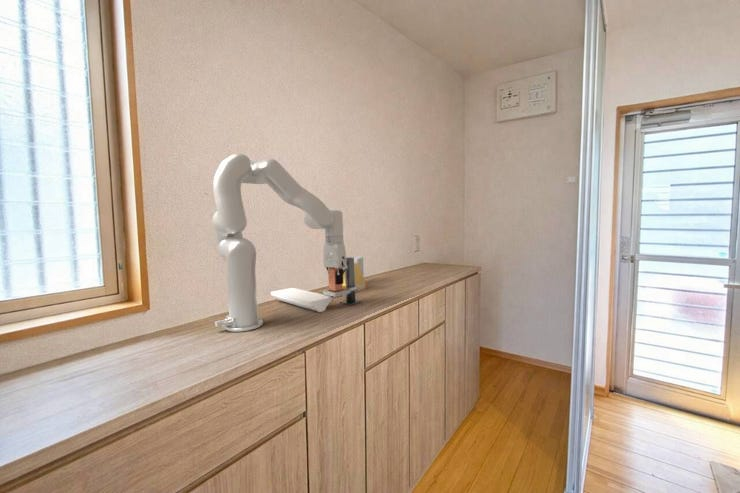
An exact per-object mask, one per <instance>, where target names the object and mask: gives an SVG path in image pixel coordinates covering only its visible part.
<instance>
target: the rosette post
mask: <svg viewBox="0 0 740 493" xmlns="http://www.w3.org/2000/svg"><path fill="white" fill-rule="evenodd" d="M353 257H354V256H351V257H346V265H347V267H348V268H347V269H346V270H345V277H346V286H344V287H343V291H338V292H333V291H329V288H328V289H323V290H322V294H323V295H327V296H333V297H337V296H341V295H344V296H345V298H346V299H344V300H341V301H339V304H341V305H346V306H350V307H351V306H354V305H355V306H356V305H358V304H362V303H363V300H360V299H356V292H355V291H357V290H360V291H362V290H363V289H362V286H361V285H355V273H354V258H353ZM361 289H362V290H361ZM357 292H358V291H357ZM345 294H346V295H345Z"/></svg>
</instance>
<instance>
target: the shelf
mask: <svg viewBox="0 0 740 493" xmlns="http://www.w3.org/2000/svg"><path fill="white" fill-rule="evenodd" d="M270 296H273V297H274V298H275V299H277V300H278V301H281V302H283V303H284V302H285V303H288V304H291V305H294V306H298V307H301V308H304V309H308V310H312V311H315V312H318V313H322V312H325V310H326V309H327V306H329V303H330V302H332V301H333V298H332V297H331V296H329V295H325V294H323V293H318V292H317V293H316V292H314V291H309V290H305V289H300V288H295V287H288V288H283V289H278V290H273V291H270Z"/></svg>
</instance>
